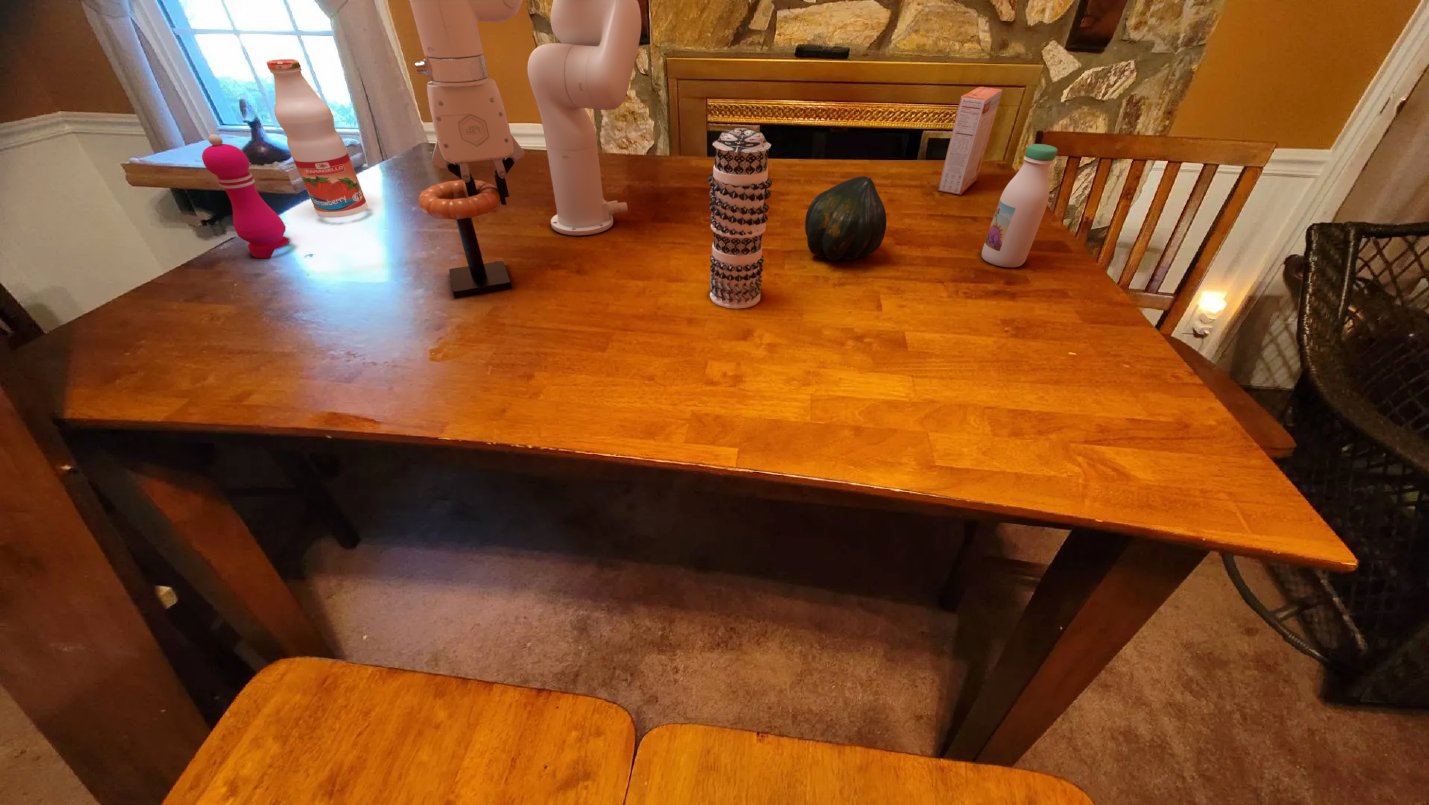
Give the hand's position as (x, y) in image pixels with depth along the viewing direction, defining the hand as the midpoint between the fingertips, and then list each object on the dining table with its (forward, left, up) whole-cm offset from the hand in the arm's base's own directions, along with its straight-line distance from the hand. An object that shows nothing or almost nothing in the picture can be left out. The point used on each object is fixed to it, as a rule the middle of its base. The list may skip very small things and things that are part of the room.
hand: (490, 202), depth 88 cm
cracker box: (-109, -10, -13) cm, 111 cm away
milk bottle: (-86, +27, -13) cm, 92 cm away
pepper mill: (+39, -27, -13) cm, 49 cm away
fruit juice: (+28, -42, -13) cm, 52 cm away
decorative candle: (-33, +21, -13) cm, 42 cm away
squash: (-59, +13, -13) cm, 62 cm away
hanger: (+5, 0, -13) cm, 14 cm away
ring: (+4, 0, +1) cm, 4 cm away
